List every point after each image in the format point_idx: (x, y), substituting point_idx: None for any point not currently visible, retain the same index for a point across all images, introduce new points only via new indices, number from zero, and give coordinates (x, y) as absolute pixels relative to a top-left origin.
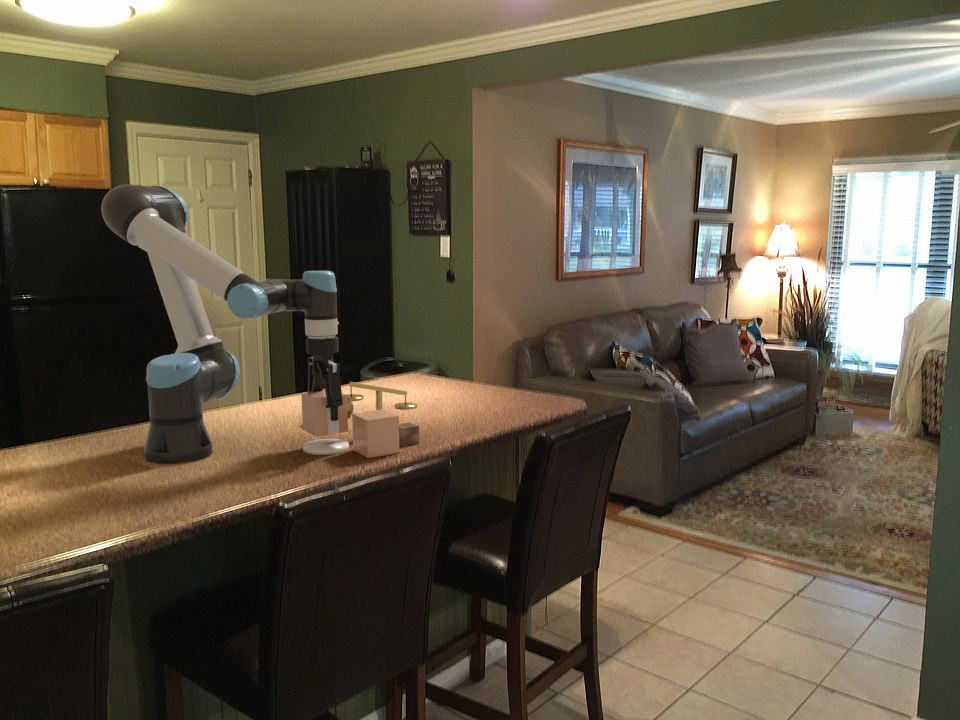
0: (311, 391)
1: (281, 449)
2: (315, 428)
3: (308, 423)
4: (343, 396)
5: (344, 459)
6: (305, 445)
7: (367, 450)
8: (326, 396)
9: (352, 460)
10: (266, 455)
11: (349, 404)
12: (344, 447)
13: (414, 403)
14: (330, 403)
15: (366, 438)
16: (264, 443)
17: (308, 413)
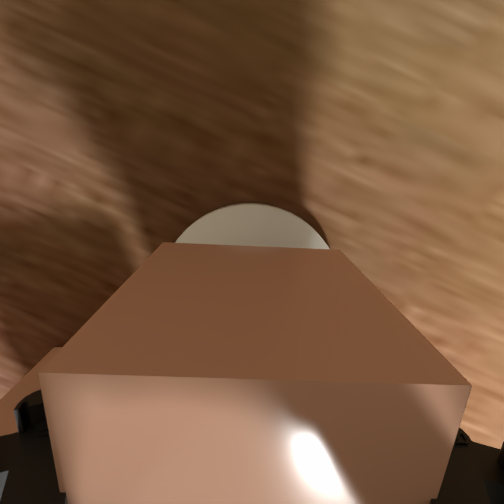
0: (482, 493)
1: (355, 142)
2: (151, 255)
3: (259, 262)
4: None
5: (78, 280)
6: (289, 226)
7: (39, 363)
8: (57, 501)
9: (53, 296)
10: (310, 41)
11: None
12: None
13: None
14: (19, 447)
15: (14, 397)
16: (497, 118)
17: (251, 287)
